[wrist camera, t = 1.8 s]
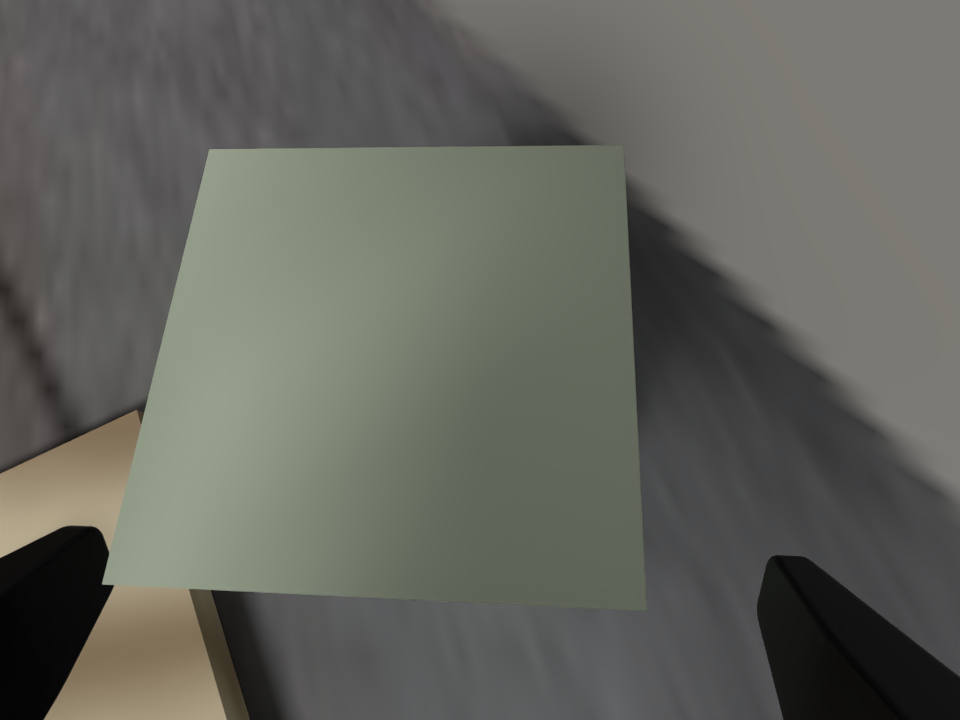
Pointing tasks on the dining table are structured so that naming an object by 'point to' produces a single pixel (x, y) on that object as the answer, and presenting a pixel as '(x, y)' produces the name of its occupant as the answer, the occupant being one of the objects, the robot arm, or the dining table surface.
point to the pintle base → (122, 595)
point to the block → (396, 383)
